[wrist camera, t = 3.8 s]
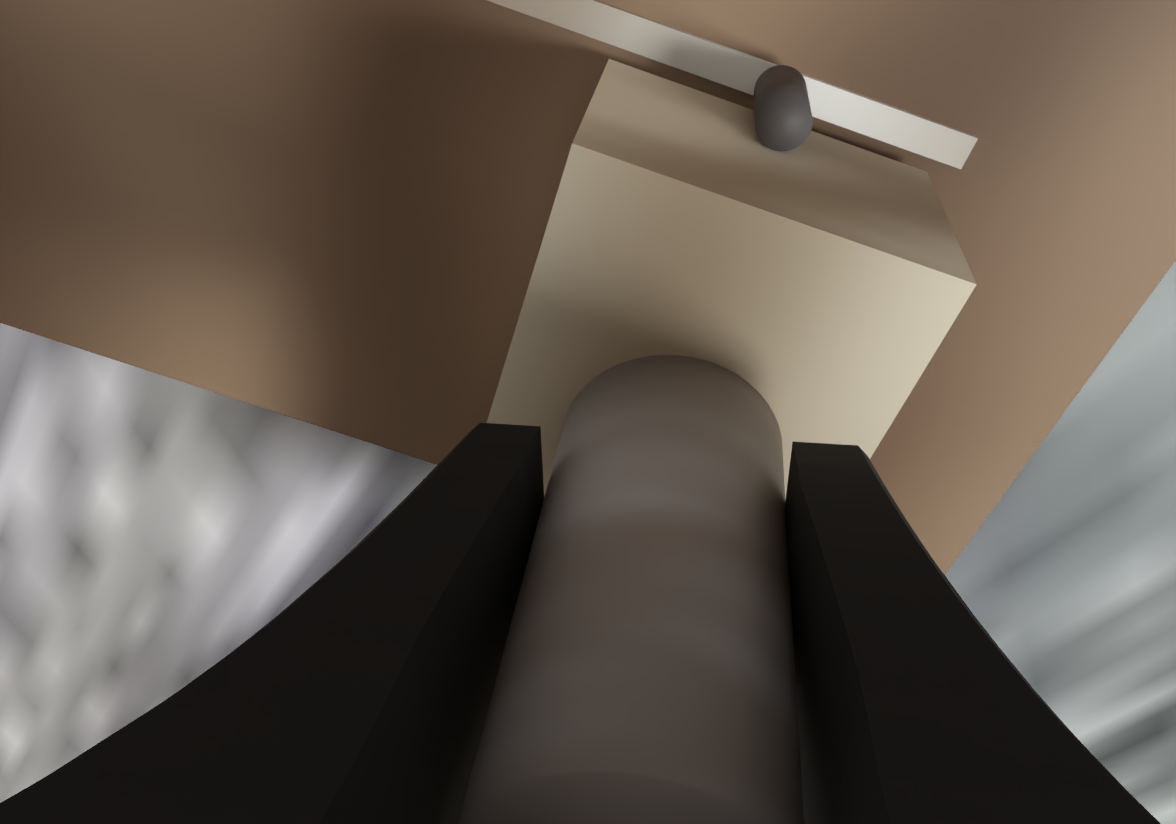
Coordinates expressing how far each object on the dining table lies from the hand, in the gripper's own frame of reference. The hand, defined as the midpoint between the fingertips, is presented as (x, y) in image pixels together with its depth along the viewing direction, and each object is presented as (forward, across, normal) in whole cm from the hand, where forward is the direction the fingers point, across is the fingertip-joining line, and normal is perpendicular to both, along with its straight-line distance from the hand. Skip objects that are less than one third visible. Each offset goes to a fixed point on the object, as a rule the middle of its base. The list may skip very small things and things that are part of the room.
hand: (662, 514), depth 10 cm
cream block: (+6, 0, +1) cm, 6 cm away
